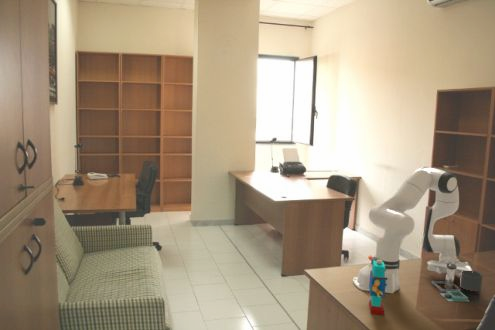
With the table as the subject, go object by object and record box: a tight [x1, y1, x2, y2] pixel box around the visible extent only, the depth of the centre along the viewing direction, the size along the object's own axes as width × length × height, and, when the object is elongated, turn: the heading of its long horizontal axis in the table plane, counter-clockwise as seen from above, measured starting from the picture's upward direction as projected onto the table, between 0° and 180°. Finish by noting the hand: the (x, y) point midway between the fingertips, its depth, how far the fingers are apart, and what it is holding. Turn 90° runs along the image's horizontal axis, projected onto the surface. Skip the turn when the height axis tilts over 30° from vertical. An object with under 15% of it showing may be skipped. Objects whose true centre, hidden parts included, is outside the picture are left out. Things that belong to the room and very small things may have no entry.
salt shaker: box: [444, 263, 457, 289], centre depth 204 cm, size 4×4×12 cm
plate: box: [439, 291, 470, 302], centre depth 194 cm, size 10×8×2 cm
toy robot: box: [368, 255, 386, 316], centre depth 178 cm, size 12×6×25 cm, turn 168°
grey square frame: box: [431, 280, 460, 293], centre depth 205 cm, size 10×10×2 cm
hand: (450, 274), depth 203 cm, fingers open, 8 cm apart
